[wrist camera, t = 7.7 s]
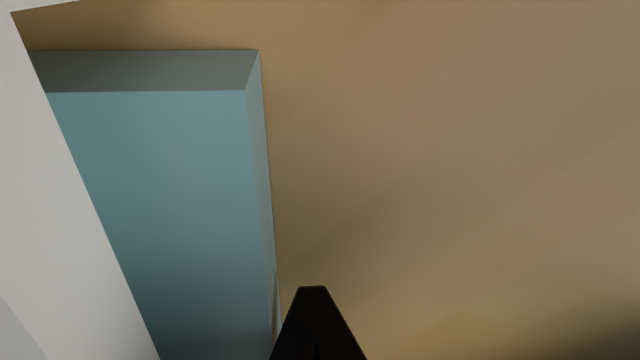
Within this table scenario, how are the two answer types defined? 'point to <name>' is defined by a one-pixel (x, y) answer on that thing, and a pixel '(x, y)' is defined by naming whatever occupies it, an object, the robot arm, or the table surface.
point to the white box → (53, 233)
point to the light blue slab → (178, 188)
